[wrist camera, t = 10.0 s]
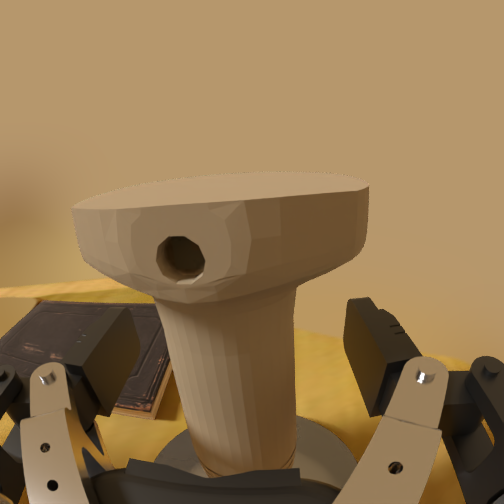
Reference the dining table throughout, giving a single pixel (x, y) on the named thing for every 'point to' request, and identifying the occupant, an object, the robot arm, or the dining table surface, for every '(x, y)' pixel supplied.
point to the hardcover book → (67, 333)
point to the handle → (228, 291)
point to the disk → (306, 458)
